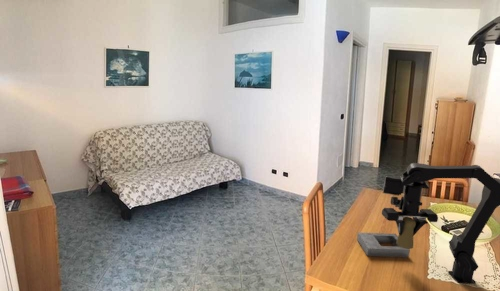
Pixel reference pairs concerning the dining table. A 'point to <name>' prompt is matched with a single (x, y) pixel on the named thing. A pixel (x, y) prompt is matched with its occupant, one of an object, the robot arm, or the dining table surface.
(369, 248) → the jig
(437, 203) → the dining table surface
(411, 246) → the olive pawn
